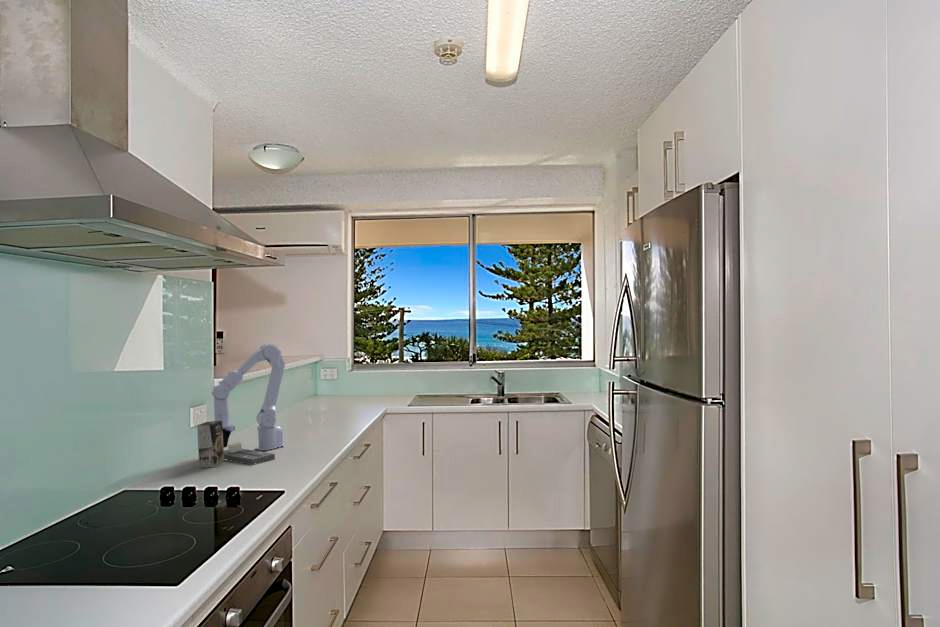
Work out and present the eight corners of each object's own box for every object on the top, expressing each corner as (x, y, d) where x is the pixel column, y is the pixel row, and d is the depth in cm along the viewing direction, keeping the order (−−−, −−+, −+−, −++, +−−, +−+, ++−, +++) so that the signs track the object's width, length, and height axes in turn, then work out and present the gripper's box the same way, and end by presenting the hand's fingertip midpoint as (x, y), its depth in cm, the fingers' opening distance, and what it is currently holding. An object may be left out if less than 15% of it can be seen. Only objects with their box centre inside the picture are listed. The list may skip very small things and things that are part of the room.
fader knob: (237, 449, 264) (237, 442, 264) (241, 450, 262) (241, 442, 262) (228, 451, 260) (228, 444, 260) (232, 452, 258) (232, 444, 258)
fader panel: (236, 452, 269) (236, 447, 269) (274, 458, 254) (274, 453, 254) (214, 457, 261) (214, 452, 261) (252, 464, 246) (252, 459, 246)
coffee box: (215, 467, 245) (213, 424, 245) (198, 468, 245) (196, 425, 245) (225, 461, 254) (222, 420, 254) (208, 462, 254) (206, 421, 254)
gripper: (203, 414, 267) (205, 447, 267) (222, 416, 258) (225, 450, 258) (218, 411, 273) (220, 444, 273) (238, 413, 264) (240, 447, 264)
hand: (223, 447), depth 266 cm, fingers closed
